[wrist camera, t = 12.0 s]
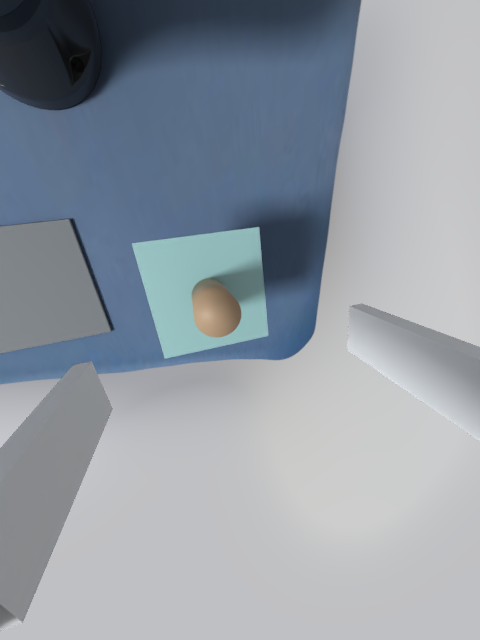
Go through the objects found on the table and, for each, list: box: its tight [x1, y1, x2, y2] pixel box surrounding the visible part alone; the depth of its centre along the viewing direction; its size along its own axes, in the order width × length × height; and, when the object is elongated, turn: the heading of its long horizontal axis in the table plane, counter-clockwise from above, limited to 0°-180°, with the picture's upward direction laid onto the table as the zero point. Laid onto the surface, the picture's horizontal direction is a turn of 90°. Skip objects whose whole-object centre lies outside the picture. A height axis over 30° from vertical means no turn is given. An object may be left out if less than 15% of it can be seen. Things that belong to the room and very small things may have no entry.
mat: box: [0, 219, 112, 353], centre depth 34 cm, size 18×18×1 cm
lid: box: [132, 227, 268, 359], centre depth 22 cm, size 13×13×8 cm
